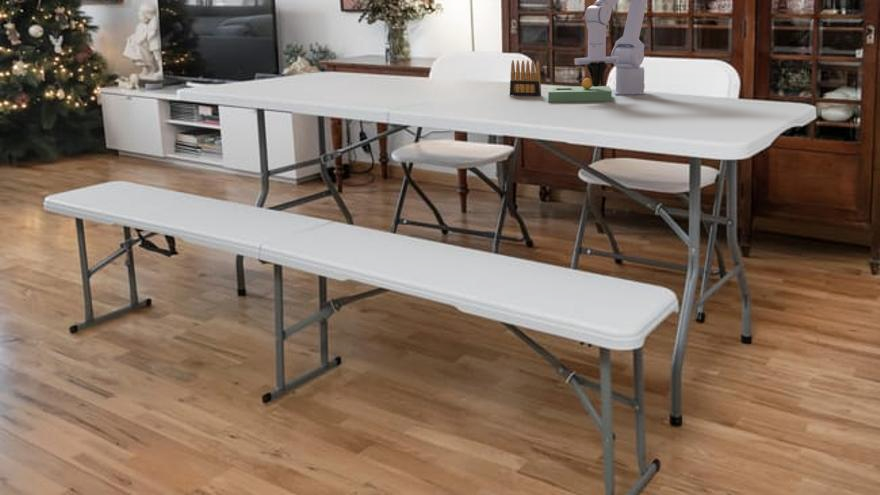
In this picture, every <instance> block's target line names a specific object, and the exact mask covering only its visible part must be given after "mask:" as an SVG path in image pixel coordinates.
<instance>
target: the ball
mask: <svg viewBox="0 0 880 495" xmlns="http://www.w3.org/2000/svg"><path fill="white" fill-rule="evenodd" d="M582 86H583V88H585V89H589V88H591V87H592V86H593V82H592V78H589V77H586V78H583V79H582V81H581V87H582Z"/></svg>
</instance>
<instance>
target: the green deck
mask: <svg viewBox="0 0 880 495" xmlns="http://www.w3.org/2000/svg"><path fill="white" fill-rule="evenodd" d="M547 91H548V94H547V95H548V103H598V102H599V103H607V102H608V103H610V102H611V103H612V97H613V95H612V89H611V87H610V86H609V85H599V87H595V86H593V85H592V87H591V88H589V89H585V88H583V86H582V85H581V86H548V90H547Z"/></svg>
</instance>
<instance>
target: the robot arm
mask: <svg viewBox="0 0 880 495" xmlns="http://www.w3.org/2000/svg"><path fill="white" fill-rule="evenodd" d="M619 1H620V0H595V2H594V3H593V5H589V7H587V8H586V10H585V12H584V13H585V14H583V16H584V17H583V18H584V21H585V24H586V29H587V57H578V58H577V57H576V58H574V65H575V66H580V65H586V68H587V69H588V72H589V74H590V77H591V78H590V79H591V80H592V82H593V85H592V86H595V87H599V86H601V85H600V84H601V80H602V77H603V75H604V72H605V70H607V66H608V65H607V64H613V65H614V66H613V67H615V70H616V71H615V90H613V93H614V95H618V96H619V95H620V96H621V95H624V96H625V95H644V94H645V67H644V66H641V65H642V64H643V61H644V58H645V44H644V43H643V41H641V40H640V35H641V31H642V26H643V22H644V16H645V12H646V8H647V4H648V0H630V3H629V7H628V12H627V18H626V21H625V25H624V30H623V34H622V36H621V37H619V38H618V39H617V40H616V41H615V43H614V46H613V49H612V51H611V54H610V56H606V55H607V54H606V52H607V51H606V50H607V49H606V48H607V24H608V22H610V19H611V14H612V13H613V9H614V8H615V7H616V5H617V3H618V2H619Z"/></svg>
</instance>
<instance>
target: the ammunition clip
mask: <svg viewBox="0 0 880 495" xmlns="http://www.w3.org/2000/svg"><path fill="white" fill-rule="evenodd" d="M540 68H541V67H540V61H539V60H538V59H537V60H536V64H535V62H534V60H533V59H532V61H531V64H530V61H529V60H526V65H525V61H524V59H523V60H522V61H521V65H520V60H519V59H517V60H516V66H515V61H514V59H512V60H511V65H510V81H509V96H510V95H514V96H515V97H541V96H542V86H541V85H542V84H541V69H540ZM514 96H513V97H514Z"/></svg>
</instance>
